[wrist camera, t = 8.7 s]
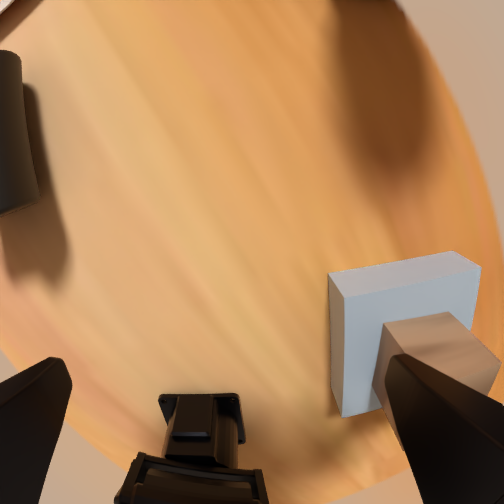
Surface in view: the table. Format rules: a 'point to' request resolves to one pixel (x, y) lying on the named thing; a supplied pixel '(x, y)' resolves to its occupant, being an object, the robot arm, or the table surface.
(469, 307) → the slate block
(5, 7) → the plate
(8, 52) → the end cap
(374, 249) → the table surface
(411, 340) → the walnut block
